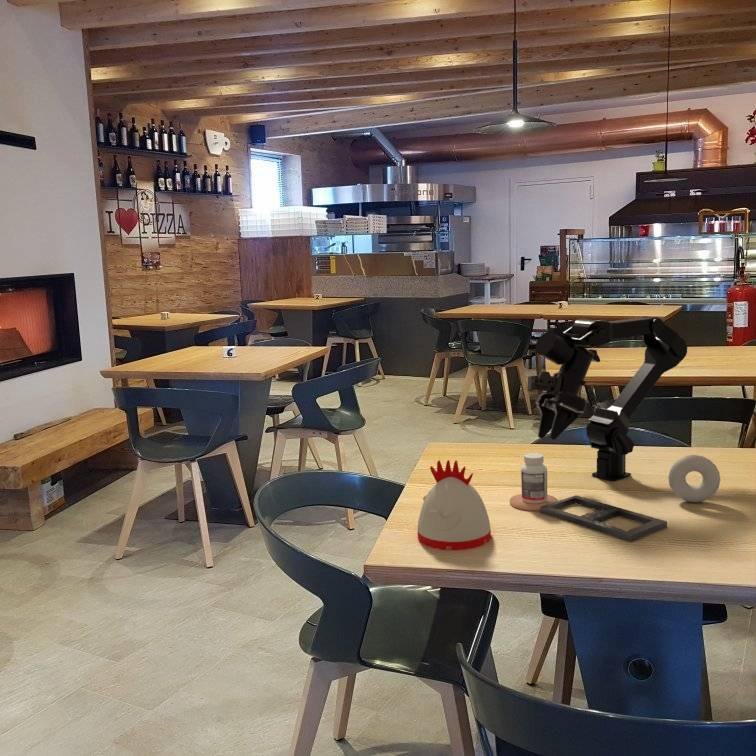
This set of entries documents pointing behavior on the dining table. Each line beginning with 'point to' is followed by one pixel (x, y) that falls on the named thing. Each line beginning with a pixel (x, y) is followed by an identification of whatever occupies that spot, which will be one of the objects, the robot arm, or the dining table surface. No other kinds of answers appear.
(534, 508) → the coaster
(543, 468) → the pill bottle
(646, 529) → the dark grey flat frame
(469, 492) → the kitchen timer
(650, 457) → the dining table surface
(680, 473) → the donut
